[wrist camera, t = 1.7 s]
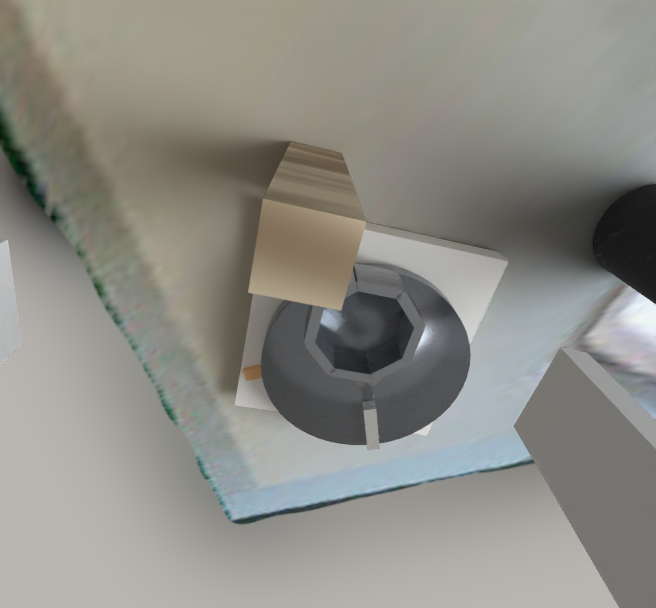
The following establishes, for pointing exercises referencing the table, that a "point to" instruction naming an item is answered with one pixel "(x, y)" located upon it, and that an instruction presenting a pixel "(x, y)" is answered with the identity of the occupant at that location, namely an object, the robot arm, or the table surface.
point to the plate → (403, 252)
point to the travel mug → (630, 240)
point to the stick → (308, 230)
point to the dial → (367, 359)
